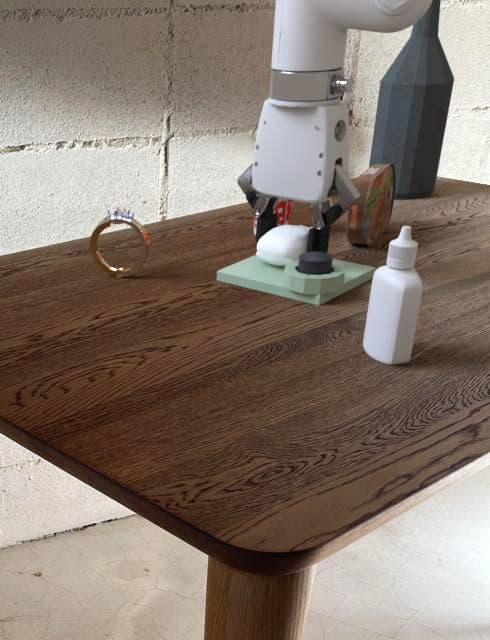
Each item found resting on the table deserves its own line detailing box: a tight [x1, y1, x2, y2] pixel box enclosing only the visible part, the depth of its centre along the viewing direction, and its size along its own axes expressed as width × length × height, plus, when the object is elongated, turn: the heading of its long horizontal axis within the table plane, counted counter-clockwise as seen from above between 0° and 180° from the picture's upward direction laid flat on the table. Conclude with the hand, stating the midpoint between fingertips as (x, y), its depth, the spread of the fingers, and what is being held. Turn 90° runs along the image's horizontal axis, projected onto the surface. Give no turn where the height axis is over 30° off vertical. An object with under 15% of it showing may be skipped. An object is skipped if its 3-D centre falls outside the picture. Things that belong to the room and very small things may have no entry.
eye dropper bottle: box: [362, 225, 424, 366], centre depth 80 cm, size 4×6×12 cm
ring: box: [89, 206, 150, 279], centre depth 104 cm, size 7×3×8 cm, turn 66°
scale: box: [216, 254, 377, 306], centre depth 101 cm, size 15×13×3 cm
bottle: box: [368, 0, 455, 200], centre depth 125 cm, size 10×10×30 cm
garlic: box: [255, 224, 314, 266], centre depth 103 cm, size 8×7×4 cm
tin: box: [345, 163, 396, 247], centre depth 113 cm, size 15×3×8 cm, turn 150°
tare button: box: [298, 252, 334, 275], centre depth 96 cm, size 4×4×2 cm
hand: (290, 254), depth 103 cm, fingers closed on garlic, 6 cm apart
